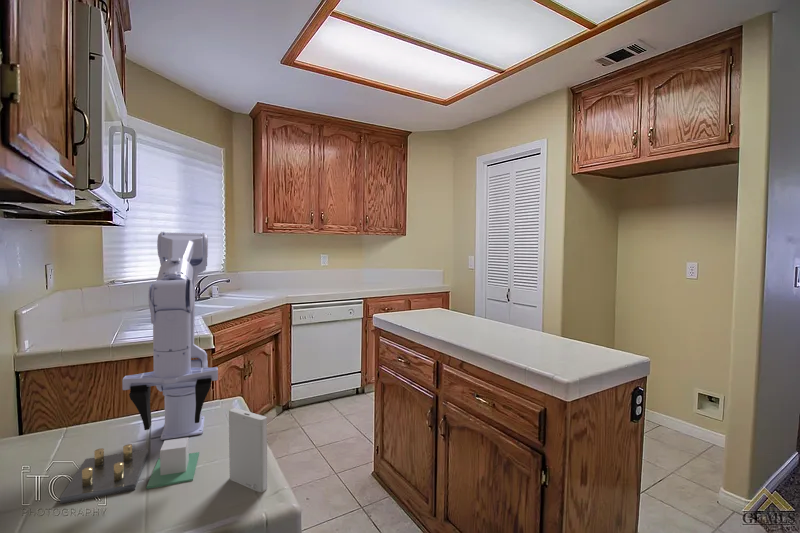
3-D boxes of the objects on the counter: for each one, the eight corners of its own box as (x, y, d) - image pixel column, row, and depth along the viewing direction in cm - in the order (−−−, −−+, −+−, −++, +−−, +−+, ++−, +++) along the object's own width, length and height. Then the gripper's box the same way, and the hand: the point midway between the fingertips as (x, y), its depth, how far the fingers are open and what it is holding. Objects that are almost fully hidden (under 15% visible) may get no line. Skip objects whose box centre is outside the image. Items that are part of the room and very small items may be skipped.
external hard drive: (260, 494, 67) (260, 420, 67) (228, 480, 71) (227, 410, 71) (268, 489, 69) (268, 416, 68) (236, 475, 73) (235, 407, 72)
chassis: (85, 464, 76) (85, 445, 76) (148, 454, 80) (147, 436, 80) (60, 503, 64) (59, 482, 64) (134, 489, 68) (134, 469, 68)
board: (158, 462, 78) (158, 434, 78) (199, 456, 80) (199, 429, 80) (146, 491, 68) (146, 460, 68) (192, 483, 71) (192, 453, 71)
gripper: (117, 357, 65) (118, 441, 65) (217, 349, 70) (217, 426, 71) (127, 347, 71) (128, 423, 72) (217, 341, 77) (218, 411, 77)
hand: (173, 424), depth 72 cm, fingers open, 7 cm apart
